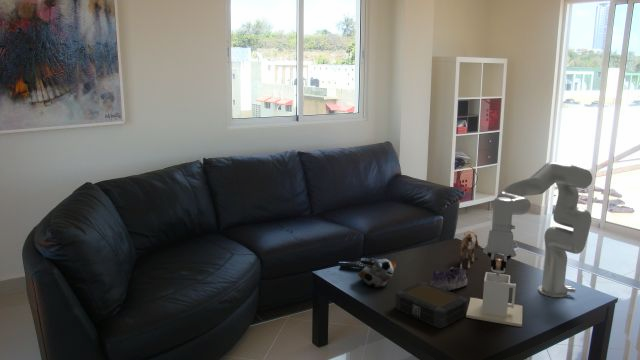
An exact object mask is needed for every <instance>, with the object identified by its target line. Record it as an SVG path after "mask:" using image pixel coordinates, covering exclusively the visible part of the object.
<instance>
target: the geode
mask: <svg viewBox="0 0 640 360" xmlns="http://www.w3.org/2000/svg"><path fill="white" fill-rule="evenodd" d="M432 274H433V275H432V277H431V278H430V284H431V285H433V286H436V287H438V288H441V289H444V290H446V291H449V292H450V291H452V290H456V289H460V288H463V287H465V286H468V281H469V279H468V278H467V275H466V274H467V270H466V268H462V269H461V270H460V267H454V266H452V267H450V268H448V269H444V270H441V271H436V270H434V271H433V273H432Z"/></svg>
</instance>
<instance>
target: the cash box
mask: <svg viewBox="0 0 640 360" xmlns="http://www.w3.org/2000/svg"><path fill="white" fill-rule="evenodd" d="M468 301H469V300H468V298H466V297H464V296H461V295H459V294H456V293H454V292H451V291H450V290H449V291H446V290H444V289H441V288H438V287H436V286H433V285H431V283H428V282H425V281H420V282H418V283H416V284H413V285H411V286H409V287H406V288H403V289H401V290H398V291H397V292H396V293H395V305H394V307H395V309H396V310H399V311H401V312H403V313H404V312H405V314H407V315H409V316H411V317H413V318H416V319H418V320H420V321H422V322H425V323H427V324H429V325H430V326H433V327H435V328H437V329H444V328H445V327H447V326H448V325H450V324H451V325H452V323H455V322H456V321H458V320H460V319H462V318H464V317H466V314H467V310H468V305H469V303H468Z"/></svg>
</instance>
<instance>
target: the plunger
mask: <svg viewBox="0 0 640 360" xmlns="http://www.w3.org/2000/svg"><path fill="white" fill-rule="evenodd" d="M502 263H503V259H502V258H495V266H494V269H492V267H493V266H490V271H491V272H492V273H496V281H495V282H499V274H504V273H506V268H504V271H503V270H502Z"/></svg>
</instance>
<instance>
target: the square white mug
mask: <svg viewBox="0 0 640 360" xmlns="http://www.w3.org/2000/svg"><path fill="white" fill-rule="evenodd" d="M495 281H496V273H495V272H488V271H486V272H485V275H484V280H483V296H482V299H481V298H478V297H469V303H468V305H467V314H466V316H465V318H470V319H472V320H479V321H484V322H490V323H491V322H492V323H497V324H503V325H509V326H515V327H519V328H523V305H520V304H515V303H516V302H515V299H516V291H517V290H516V288H517V283H511V275H509V274H504V273H500V274H499V282H495ZM511 288H512V295H511V296H512V299H511V303H510V302H509V297H510V296H509V295H510V289H511Z"/></svg>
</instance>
